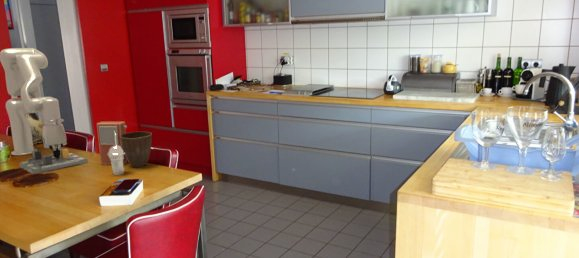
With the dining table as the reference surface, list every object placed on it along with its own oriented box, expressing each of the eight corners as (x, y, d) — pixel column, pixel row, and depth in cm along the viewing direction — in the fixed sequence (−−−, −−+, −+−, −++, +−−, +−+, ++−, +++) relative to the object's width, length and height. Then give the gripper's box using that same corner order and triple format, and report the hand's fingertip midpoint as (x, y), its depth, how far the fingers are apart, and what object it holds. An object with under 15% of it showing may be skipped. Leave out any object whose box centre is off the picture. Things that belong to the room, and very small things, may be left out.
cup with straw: (106, 176, 205) (101, 134, 201) (114, 170, 214) (110, 130, 210) (123, 176, 204) (119, 134, 200) (131, 170, 213) (127, 130, 209)
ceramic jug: (13, 145, 270) (6, 97, 264) (34, 140, 284) (27, 94, 278) (34, 147, 265) (28, 98, 259) (55, 141, 279) (49, 94, 273)
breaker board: (19, 166, 224) (17, 153, 222) (71, 156, 242) (70, 143, 241) (33, 174, 209) (31, 160, 208) (88, 162, 228) (86, 150, 226)
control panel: (104, 161, 231) (131, 161, 229) (97, 164, 224) (125, 165, 223) (100, 121, 227) (127, 121, 225) (93, 123, 220) (121, 123, 218)
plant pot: (144, 170, 213) (142, 138, 210) (117, 169, 216) (114, 137, 213) (159, 162, 227) (157, 132, 224) (133, 160, 230) (130, 131, 227)
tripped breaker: (58, 158, 229) (57, 149, 228) (68, 156, 233) (67, 148, 232) (61, 160, 226) (60, 151, 225) (71, 158, 230) (70, 149, 229)
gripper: (65, 119, 231) (69, 153, 234) (34, 123, 220) (38, 159, 224) (70, 121, 226) (74, 155, 229) (39, 125, 215) (43, 161, 219)
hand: (57, 157), depth 227 cm, fingers closed
